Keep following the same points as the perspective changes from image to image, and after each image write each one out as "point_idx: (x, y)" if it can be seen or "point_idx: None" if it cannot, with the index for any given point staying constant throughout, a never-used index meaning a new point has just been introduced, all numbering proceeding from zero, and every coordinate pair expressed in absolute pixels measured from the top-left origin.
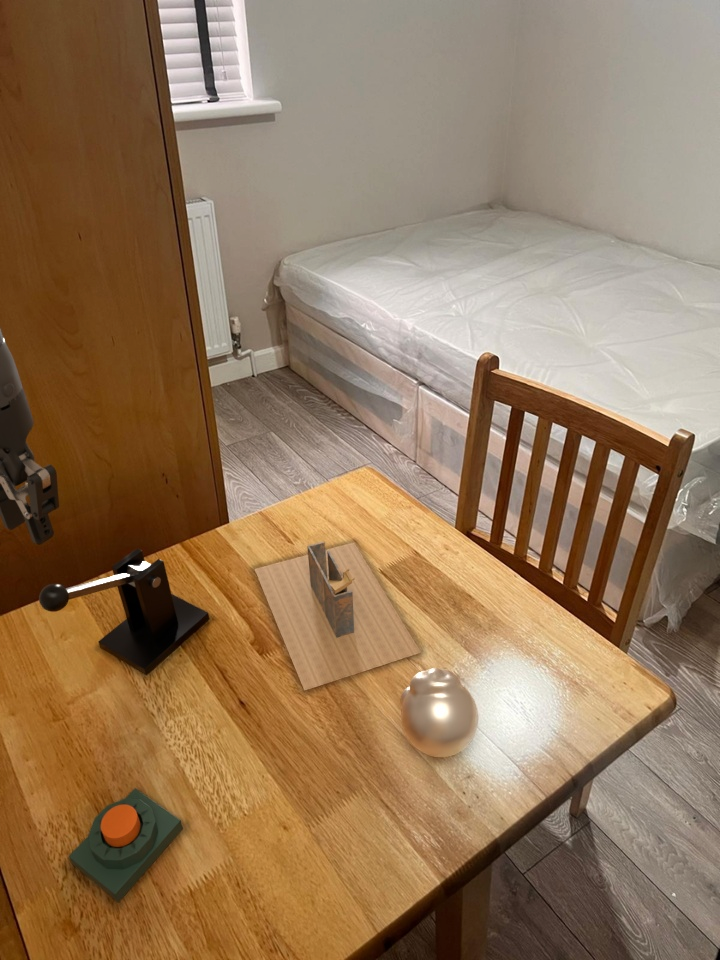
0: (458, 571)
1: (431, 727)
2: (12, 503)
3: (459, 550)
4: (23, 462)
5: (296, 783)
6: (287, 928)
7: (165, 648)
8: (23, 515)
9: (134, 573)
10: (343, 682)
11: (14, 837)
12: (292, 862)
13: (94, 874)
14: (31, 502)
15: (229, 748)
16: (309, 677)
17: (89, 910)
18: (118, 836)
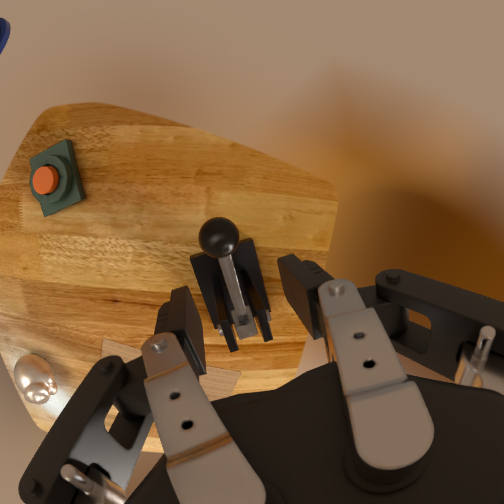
0: (149, 441)
1: (16, 371)
2: (303, 311)
3: None
4: None
5: (44, 291)
6: None
7: (200, 283)
8: (289, 302)
9: (240, 321)
10: (97, 358)
11: (116, 110)
12: (8, 259)
13: (45, 151)
14: (90, 404)
15: (84, 272)
16: (111, 346)
17: (41, 141)
18: (34, 175)
